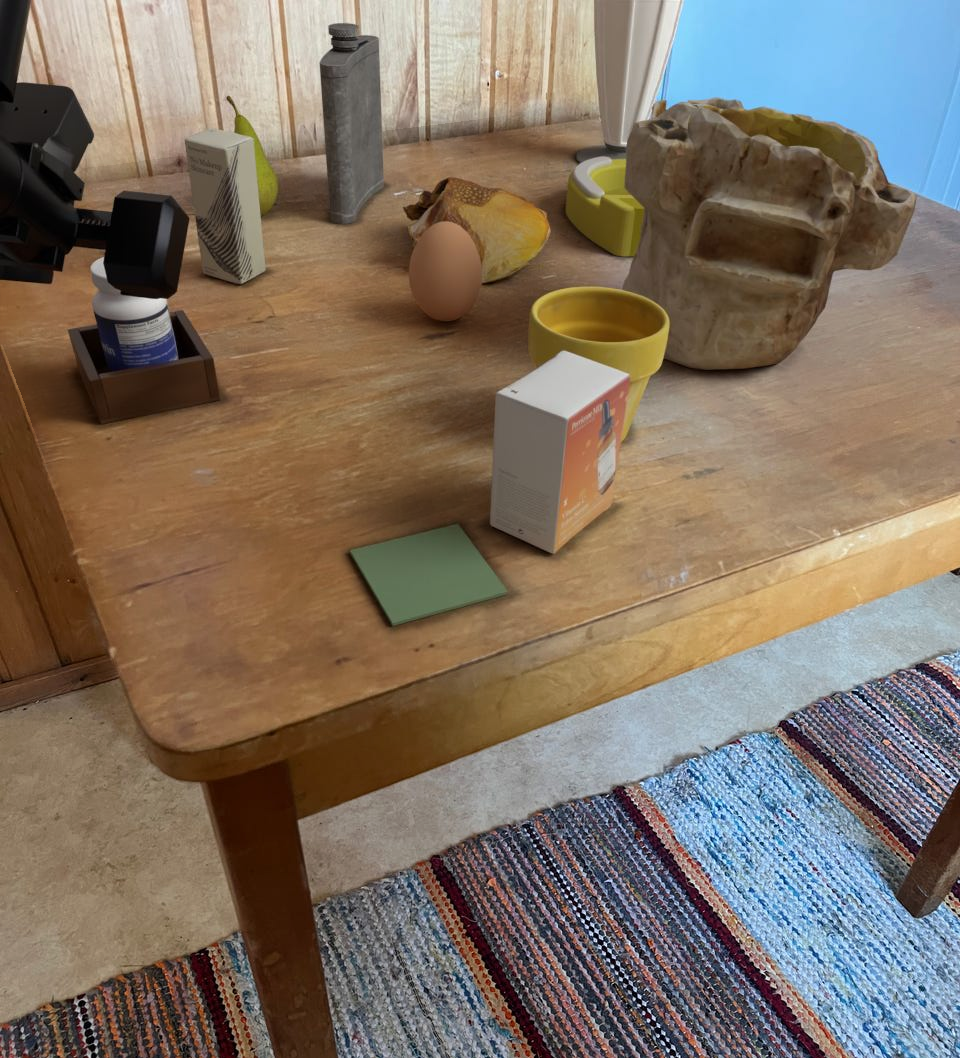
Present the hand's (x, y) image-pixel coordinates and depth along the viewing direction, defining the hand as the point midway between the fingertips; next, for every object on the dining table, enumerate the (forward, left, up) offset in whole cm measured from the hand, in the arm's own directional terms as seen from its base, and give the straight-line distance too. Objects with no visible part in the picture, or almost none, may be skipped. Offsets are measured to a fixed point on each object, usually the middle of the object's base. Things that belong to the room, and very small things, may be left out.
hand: (107, 284), depth 74 cm
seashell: (+29, +32, -10) cm, 44 cm away
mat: (+24, -23, -10) cm, 34 cm away
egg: (+26, +16, -10) cm, 32 cm away
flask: (+16, +47, -10) cm, 50 cm away
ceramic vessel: (+53, +11, -10) cm, 55 cm away
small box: (+33, -16, -10) cm, 38 cm away
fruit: (+5, +42, -10) cm, 43 cm away
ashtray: (+49, +42, -10) cm, 65 cm away
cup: (+50, +64, -10) cm, 81 cm away
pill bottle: (+1, +3, -10) cm, 10 cm away
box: (+5, +26, -10) cm, 28 cm away
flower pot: (+37, -4, -10) cm, 38 cm away
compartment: (+1, +3, -10) cm, 10 cm away
